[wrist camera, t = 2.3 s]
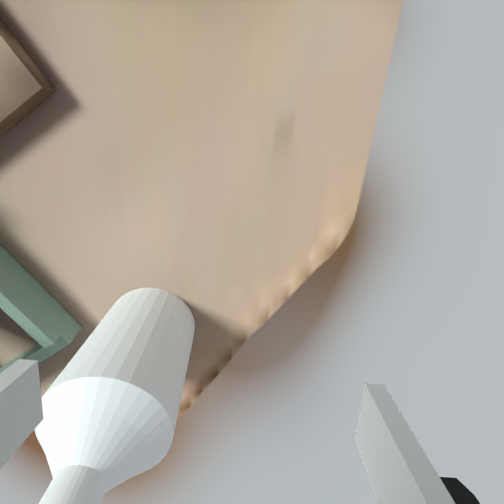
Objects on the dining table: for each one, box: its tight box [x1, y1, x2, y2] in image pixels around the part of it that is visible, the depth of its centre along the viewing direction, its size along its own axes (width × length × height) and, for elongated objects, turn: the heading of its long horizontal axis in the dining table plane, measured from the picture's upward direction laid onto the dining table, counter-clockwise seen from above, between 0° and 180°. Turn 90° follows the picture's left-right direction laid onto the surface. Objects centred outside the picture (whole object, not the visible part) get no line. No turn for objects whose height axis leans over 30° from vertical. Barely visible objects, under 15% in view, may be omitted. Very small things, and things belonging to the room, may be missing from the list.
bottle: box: [34, 288, 195, 504], centre depth 32 cm, size 12×12×25 cm
